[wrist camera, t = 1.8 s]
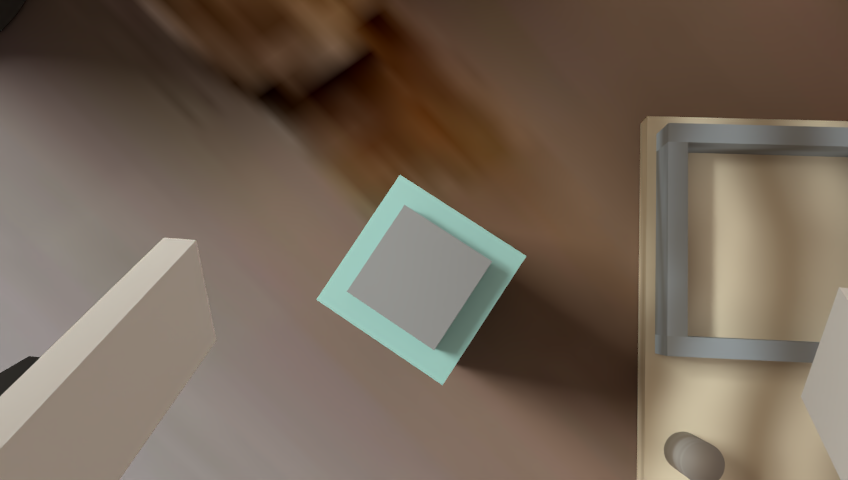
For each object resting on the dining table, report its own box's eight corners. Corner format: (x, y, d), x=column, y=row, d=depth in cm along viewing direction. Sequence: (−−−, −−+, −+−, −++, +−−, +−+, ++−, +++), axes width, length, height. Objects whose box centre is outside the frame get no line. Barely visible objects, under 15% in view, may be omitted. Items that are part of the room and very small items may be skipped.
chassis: (636, 518, 36) (660, 547, 32) (640, 123, 39) (663, 99, 34) (885, 534, 35) (946, 566, 31) (874, 129, 38) (929, 105, 33)
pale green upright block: (449, 362, 38) (441, 388, 25) (362, 303, 38) (310, 299, 26) (506, 273, 38) (528, 253, 25) (419, 217, 39) (397, 169, 26)
